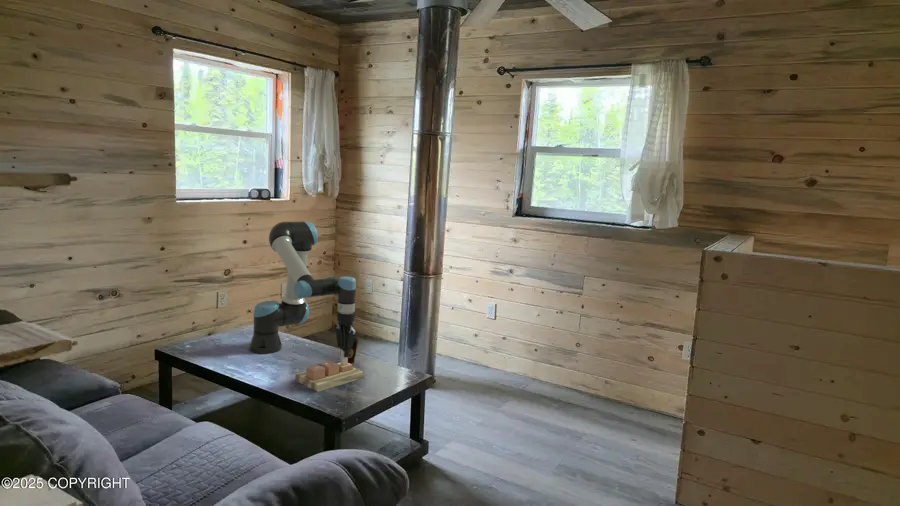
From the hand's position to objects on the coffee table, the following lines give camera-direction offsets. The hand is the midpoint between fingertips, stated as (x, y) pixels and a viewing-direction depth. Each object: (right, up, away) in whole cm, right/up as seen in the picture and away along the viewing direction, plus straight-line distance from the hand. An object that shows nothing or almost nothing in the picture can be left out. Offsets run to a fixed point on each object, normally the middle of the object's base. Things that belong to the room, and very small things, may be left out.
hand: (344, 363), depth 246 cm
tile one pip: (-10, -4, -11) cm, 15 cm away
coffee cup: (-1, -3, +17) cm, 17 cm away
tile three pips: (0, -5, +1) cm, 5 cm away
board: (-5, -6, -5) cm, 9 cm away
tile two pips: (-5, -4, -5) cm, 8 cm away
